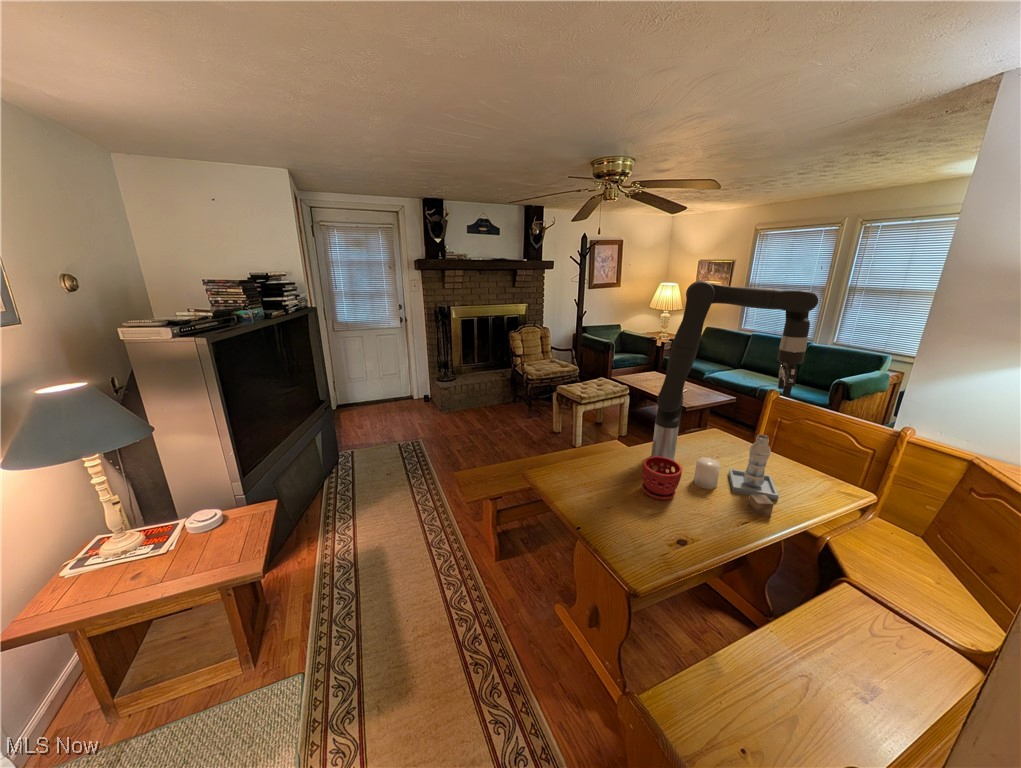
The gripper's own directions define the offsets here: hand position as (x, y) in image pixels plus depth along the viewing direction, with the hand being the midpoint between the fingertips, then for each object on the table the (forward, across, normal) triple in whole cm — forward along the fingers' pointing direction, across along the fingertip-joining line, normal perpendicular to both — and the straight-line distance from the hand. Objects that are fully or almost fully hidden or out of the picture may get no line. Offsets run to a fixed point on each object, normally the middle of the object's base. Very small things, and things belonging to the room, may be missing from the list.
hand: (783, 392), depth 136 cm
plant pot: (+36, +27, -37) cm, 58 cm away
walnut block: (+36, +24, -5) cm, 44 cm away
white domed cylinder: (+36, +13, -22) cm, 44 cm away
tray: (+36, +8, -6) cm, 37 cm away
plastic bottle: (+35, +9, -6) cm, 37 cm away
